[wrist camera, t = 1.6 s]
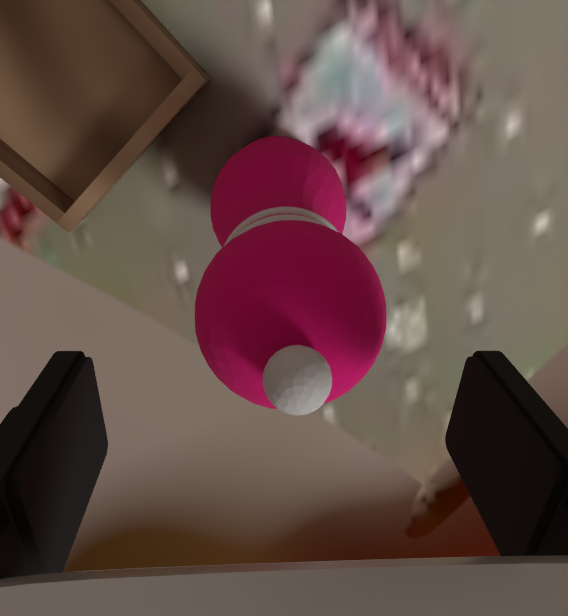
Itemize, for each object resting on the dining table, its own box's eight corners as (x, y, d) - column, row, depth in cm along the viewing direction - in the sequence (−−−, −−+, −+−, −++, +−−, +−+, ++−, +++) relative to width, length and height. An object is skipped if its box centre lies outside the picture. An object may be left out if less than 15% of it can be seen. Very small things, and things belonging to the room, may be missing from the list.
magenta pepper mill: (195, 160, 27) (80, 345, 10) (306, 104, 26) (396, 203, 9) (250, 261, 31) (236, 533, 13) (350, 215, 30) (482, 449, 12)
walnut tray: (22, -131, 21) (-7, -154, 19) (210, 78, 25) (205, 80, 23) (-101, 64, 24) (-138, 65, 22) (83, 218, 29) (68, 232, 27)
